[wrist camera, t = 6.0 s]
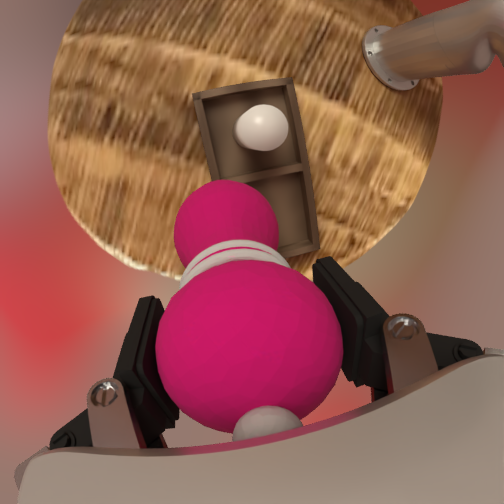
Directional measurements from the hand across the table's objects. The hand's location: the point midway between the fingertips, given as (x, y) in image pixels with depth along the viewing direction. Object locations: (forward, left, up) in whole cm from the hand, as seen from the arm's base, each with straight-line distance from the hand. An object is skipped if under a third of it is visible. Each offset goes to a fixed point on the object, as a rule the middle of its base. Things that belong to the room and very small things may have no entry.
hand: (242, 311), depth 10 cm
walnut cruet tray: (-6, -1, -29) cm, 30 cm away
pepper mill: (0, 0, -14) cm, 14 cm away
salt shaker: (-6, -7, -28) cm, 30 cm away
